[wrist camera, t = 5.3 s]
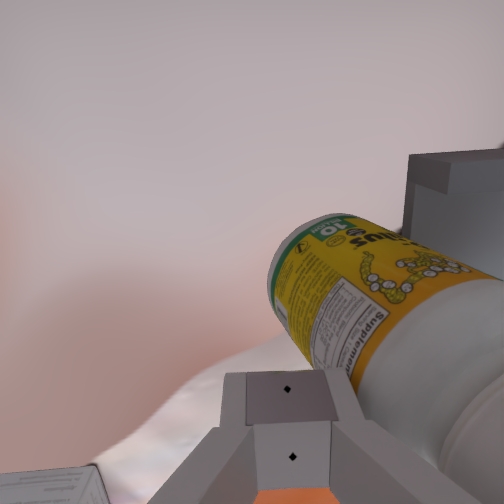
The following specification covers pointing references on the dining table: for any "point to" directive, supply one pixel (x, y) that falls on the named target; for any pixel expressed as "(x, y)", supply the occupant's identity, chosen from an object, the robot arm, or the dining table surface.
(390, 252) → the supplement bottle
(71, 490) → the skincare box
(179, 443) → the dining table surface
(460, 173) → the bottle rest
